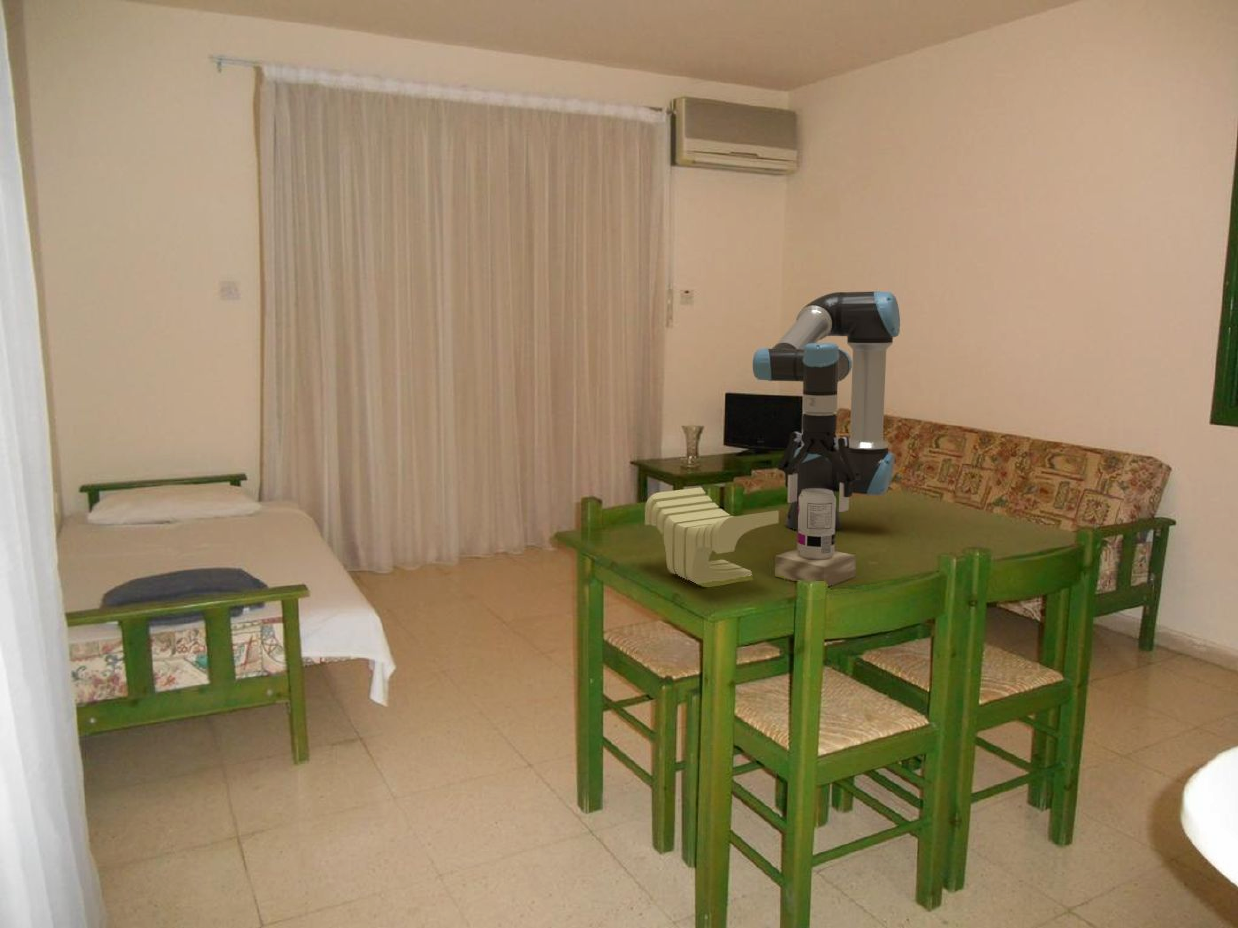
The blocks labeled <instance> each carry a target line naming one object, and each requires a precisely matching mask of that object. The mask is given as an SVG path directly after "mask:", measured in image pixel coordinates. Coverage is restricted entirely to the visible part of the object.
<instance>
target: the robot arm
mask: <svg viewBox="0 0 1238 928" xmlns="http://www.w3.org/2000/svg"><path fill="white" fill-rule="evenodd" d="M900 317H901V315H900V307H899V304H898V300H897V297H896V296H895V295H894V293H892V292H889V291H880V290H879V291H877V290H875V291H846V292H844V291H836V292H831V293H828V294H824V295H823V296H822V295H821V296H820V297H818V298H816V299H814V300H812V301H811V302H809V303H808V304H806V305H805V306H804V307H802V308H801V309H800V311H799V312H798V314H797V316H796V318H795V322H794V323H793V325H791V327H790V328H789V329H788V330H787V331H786V332H785V334H784V335H782V337H780V339H779V340H778V342H776V343H775V344H774V345H773V347H771V348H768V347H766V348H759V349H756V351H755V352H754V354H753V358H752V372H753V376H754V377H755V378H756V379H757V380H760V381H768V382H802V412H804V413H803V414H802V415H801V417H802V419H801V423H802V424H801V429H802V433H801V431H794V432H793V431H792V432H791V433H790V436H789V441H788V444H787V446H786V449H785V451H784V452H783V455H782V458H781V460H780V462H779V464H778V466H777V470H778V471H781V472H783V473H784V474H785V477H784V478H785V479H784V480H785V482H784V485H785V488H787V503H788V504H790V507H789V509H788V511H787V512H788V513H787V514H786V515H787V516H786V520H785V521H786V522H785V525H787V526H788V527H789V528H788V527H787V526H786V527H787V528H788V529H790V528H794V529H797V530H798V506H799V496H800V494H801V492H802V490H803V489H808V488H822V489H829V490H832V491H833V494H834V496H835V498H836V495H837V493H839V496H838V498H839V499H838V504H837V503H836V515H835V532H836V531H839V530H840V529H841V528H842V518H841V515H840V513H843V512H847V511H849V504H850V503H849V501H850V497H852V495H853V494H857V495H858V494H859V495H866V496H869V495H870V496H873V495H874V496H881V495H884V494H885V493H886V492H887V490H888V489H889V487H890V485H891V481H892V478H893V475H894V474H893V473H894V469H895V454H894V453H892V452H891V451H889V444H888V443H887V442H886V441H885V440H884V419H885V418H884V417H885V412H884V411H885V395H886V394H885V392H886V390H885V387H886V370H887V368H886V367H887V350H888V349H889V348H890V347H891V345H893V342H894V341H893V340H894V339H893V338H896V337H898V336H899V334H900V333H901V331H900V328H901V318H900ZM827 337H847V341H846V342H847V345H848V346H849V347H850V348H851V349H852V358H851V356H850V354H849V353H848V352H846V351H845V350H844V349H842V348H839V345H838V344H836V343H833V342H819V341H822V340H823V339H825V338H827ZM850 373H851V397H850V401H851V403H850V426H849V427H850V430H849V433H850V434H849V437H848V436H843V437H837V435H836V432H837V426H838V425H837V424H838V423H837V421H838V420H837V419H838V416H837V414H836V412H838V384H839V382H841V381H843V380H844V379H846V377H848V375H850ZM801 442H802V443H803V446H800V447H799V445H800V444H801ZM836 499H837V498H836ZM797 530H796V531H797Z"/></svg>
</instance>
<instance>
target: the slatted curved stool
mask: <svg viewBox="0 0 1238 928" xmlns="http://www.w3.org/2000/svg"><path fill="white" fill-rule="evenodd" d="M779 512H780V510H773V511H771V510H770V511H763V512H759V513H751V514H744V515H743V514H742V515H736V516H734V515H731V514H730V513H728V512H726V511H725V510H724V509H722V508H720V506H719V505H717V503H715V502H713V499H712V498H711V497H710V496H709V495H706V491H705V490H704V489H703V487H701V486H700V487H694V488H684V489H678V490H677V489H676V490H668V491H660V492H655V493H653V494H652V495H650V496H649V498H648V499H647V501H646V503H645V506H644V526H650V525H651V526H652V527H655V528H657V530H658V531H659V532H660V534H661V535H663V544H664V549H665V559H666V562H665V563H666V567H667V570H668V572H669V573H671V572H672V573H671V574H673V573H674V574H673V575H675V574H678V576H677V577H679V576H680V578H681V577H682V578H681V579H683V578H685V579H684V580H686V579H687V580H686V581H688V580H690V581H692V582H694V583H696V584H701V583H707V582H712V581H725V580H729V579H736V578H739V577H746V576H751V575H752V576H753V574H752V570H750V569H747V568H745V567H742V566H740V565H737V564H736V563H733V562H732V563H731V561H727V560H725V559H718V560H710V558H711V554H712V553H713V552H714V553H715V554H716V555H718V554H725V553H731V552H733V553H734V552H735V551H736V550H735V549H736V546H737V543H738V541H739V539H740V538H741V537H742V536H743V535H745V534H746V533H747V532H750V531H753V530H754V529H757V528H761V527H765V526H766V527H767V526H770V525H775V524H779V519H780V518H779V517H780V516H779V515H780V514H779ZM690 581H689V582H690ZM692 582H691V583H692ZM694 583H693V584H694ZM696 584H695V585H696Z"/></svg>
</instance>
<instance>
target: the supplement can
mask: <svg viewBox="0 0 1238 928" xmlns="http://www.w3.org/2000/svg"><path fill="white" fill-rule="evenodd" d="M836 504H837V498H835V496H834V494H833V491H832V490H829V489H822V488H808V489H803V490H802V492H801V494H800V496H799V506H798V531H797V548H796V549H797V552H798V553H799V554H800V556H802V557H804V558H807V559H815V560H822V559H828V558H830V557H831V556H832V555H833V554H834V551H835V543H836V542H835V541H836V539H835V538H836V536H835V535H836V531H835V515H836Z"/></svg>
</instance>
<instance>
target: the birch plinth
mask: <svg viewBox="0 0 1238 928" xmlns="http://www.w3.org/2000/svg"><path fill="white" fill-rule="evenodd" d="M856 556H857V555H856V554H850V553H846V552H842V551H841V552H840V551H838V550H837V551H836V550H834V554H833V555H832V556H831V557H830V558H828V559H822V560H815V559H807V558H804V557H802V556H800V554H799V553H798V552H797V548H795V549H792V550H788V551H786V552H783V553H780V554H778V555H777V554H776V555H775V556H774V557H775V559H774V561H775V563H774V575H775V574H777V575H781V576H784V577H786V578H789V579H792V580H795V581H798V580H808V581H826V583H827V584H828V585H832V586H834V585H837V584H839V583H842V582H844V581H847V580H849V579H853V578H855V577H856V561H857V559H856V558H857V557H856Z"/></svg>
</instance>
